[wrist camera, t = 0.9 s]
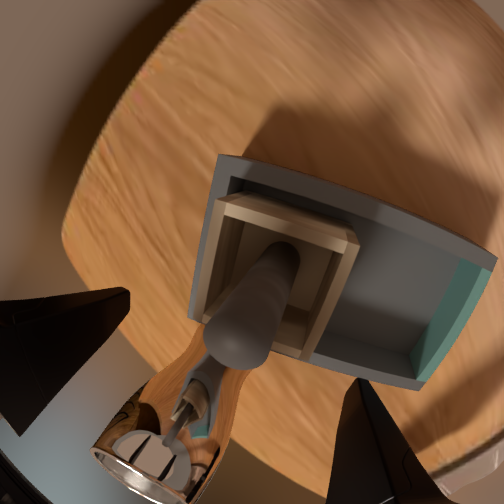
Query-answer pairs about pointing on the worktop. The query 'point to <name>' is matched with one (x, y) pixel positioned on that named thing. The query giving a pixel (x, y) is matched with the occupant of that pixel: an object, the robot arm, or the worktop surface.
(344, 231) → the crate
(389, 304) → the bay
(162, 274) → the worktop surface
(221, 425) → the beer glass
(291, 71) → the worktop surface
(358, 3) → the worktop surface
